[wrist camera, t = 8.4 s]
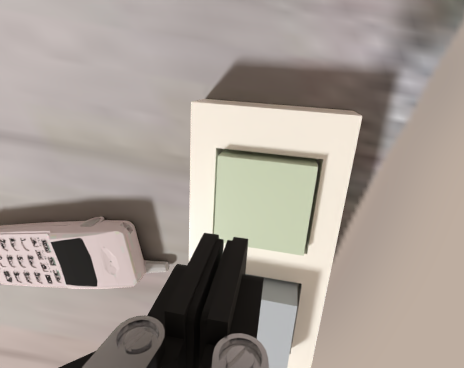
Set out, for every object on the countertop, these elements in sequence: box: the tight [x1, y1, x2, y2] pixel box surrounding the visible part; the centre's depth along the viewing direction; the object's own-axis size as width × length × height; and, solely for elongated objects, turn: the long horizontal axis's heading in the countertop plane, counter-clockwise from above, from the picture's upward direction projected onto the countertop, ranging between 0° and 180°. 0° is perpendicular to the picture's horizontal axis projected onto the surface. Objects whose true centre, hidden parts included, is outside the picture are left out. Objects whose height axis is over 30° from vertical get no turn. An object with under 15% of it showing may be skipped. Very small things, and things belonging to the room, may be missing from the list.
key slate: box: [245, 274, 297, 368], centre depth 22 cm, size 6×6×2 cm
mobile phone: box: [0, 217, 169, 289], centre depth 27 cm, size 6×6×25 cm
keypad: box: [189, 99, 362, 368], centre depth 24 cm, size 30×10×3 cm, turn 177°
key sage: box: [214, 149, 318, 256], centre depth 20 cm, size 6×6×2 cm
